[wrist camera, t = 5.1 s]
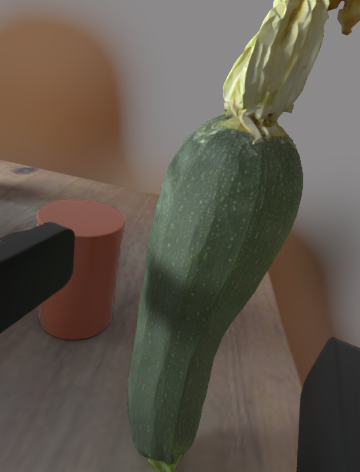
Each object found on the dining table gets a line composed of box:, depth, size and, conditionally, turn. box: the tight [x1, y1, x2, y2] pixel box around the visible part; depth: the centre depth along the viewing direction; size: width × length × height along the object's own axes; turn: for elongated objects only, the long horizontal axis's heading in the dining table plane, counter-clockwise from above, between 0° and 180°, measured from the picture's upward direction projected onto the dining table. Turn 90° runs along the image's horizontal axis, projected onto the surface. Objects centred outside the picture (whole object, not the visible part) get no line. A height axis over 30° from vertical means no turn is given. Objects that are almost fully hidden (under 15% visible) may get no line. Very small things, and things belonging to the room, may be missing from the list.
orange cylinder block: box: [37, 199, 125, 340], centre depth 21 cm, size 5×5×8 cm
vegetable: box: [127, 0, 360, 472], centre depth 12 cm, size 4×4×20 cm
